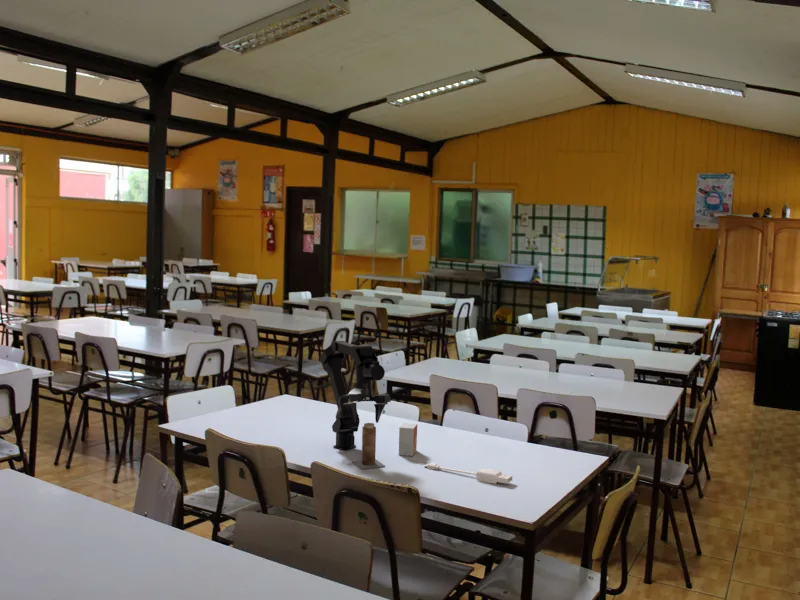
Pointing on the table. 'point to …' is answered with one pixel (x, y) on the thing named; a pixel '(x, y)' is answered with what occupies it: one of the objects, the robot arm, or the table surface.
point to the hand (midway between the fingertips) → (365, 422)
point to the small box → (407, 439)
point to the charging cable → (480, 474)
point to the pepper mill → (368, 444)
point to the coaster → (361, 466)
